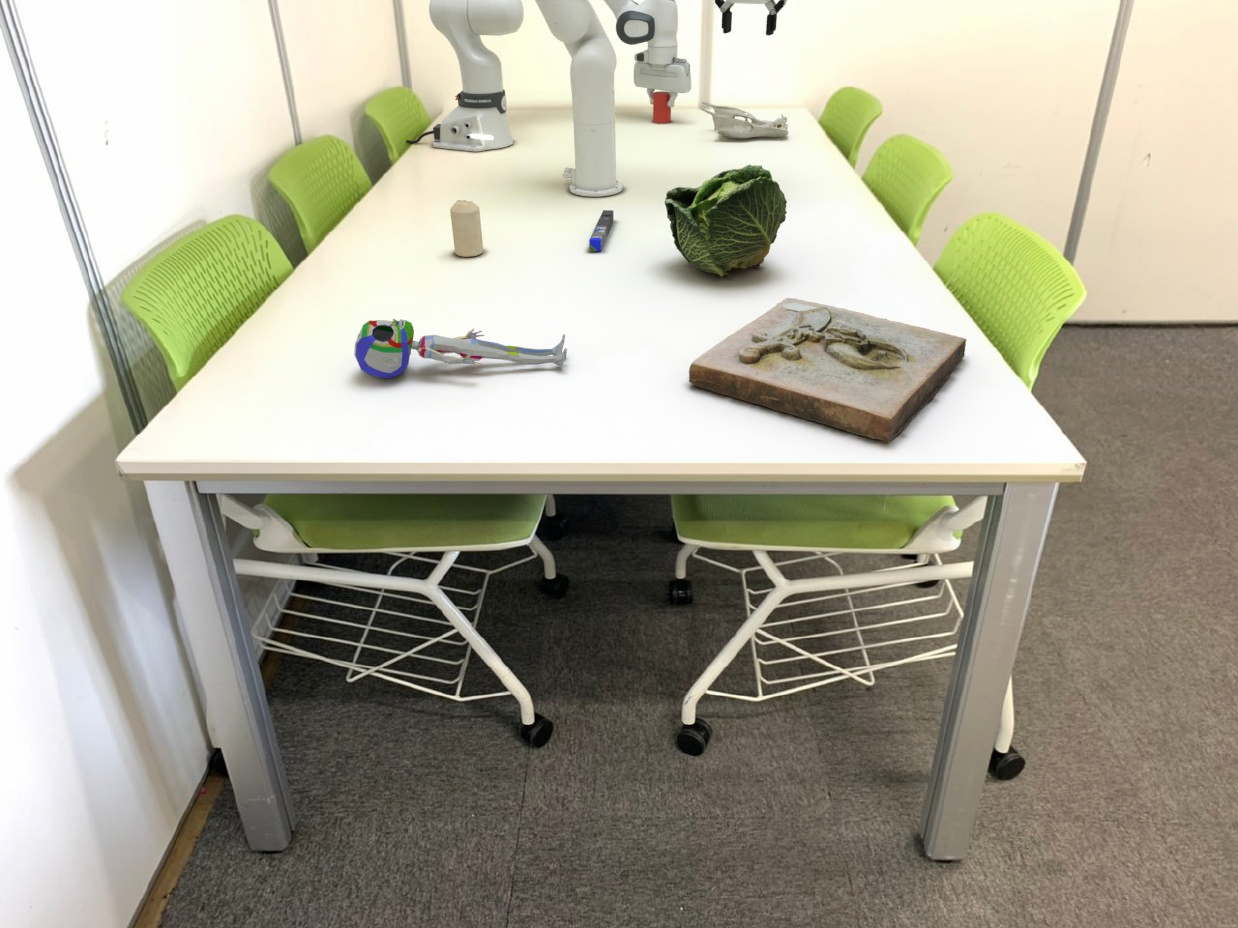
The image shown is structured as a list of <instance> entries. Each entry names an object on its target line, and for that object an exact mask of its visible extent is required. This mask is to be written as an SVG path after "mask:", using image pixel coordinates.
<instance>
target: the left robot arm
mask: <svg viewBox="0 0 1238 928" xmlns="http://www.w3.org/2000/svg"><path fill="white" fill-rule="evenodd" d="M603 1H604V2H605V4H606V5H607V7H608V8H609V9H610V10H611V12H612V13H613V15H614V17H615V20H616V23H615V32H616V35H617V37H618V39H619V40H620V41H621V42H622V43H624V44H625V45H626V44H627V45H629V46H636V45H639V44H642V43H647V49H644V50H643V51H639V52H637V53H634V57H633V59H634V61H635V63H634V66H633V84H634V85H635V87H636V88H643V89H646V93H647V96H648V97H649V104H650V105H652V106H653V93H654V92H656V90H657V91H666V92H670V95H671V98H670V100H669V101H667V107H671V109H672V108H674V107H675V101H676V99H677V98H678V94H688V93H690V91H691V90H692V75H691V74H692V73H691V64H690V63H689V61H687V59H686V58H679V57H678V46H679V45H678V40H677V34H678V30H679V11H678V4H677V2H676V0H643V1H642V2H640V3H639V2H636V1H634V0H603ZM523 5H524V4H523V3H522V0H429V5H428V15H429V18H430V19H429V20H430V21H431V23H432V25H433V27H434V28H435V29H436V30H437V31H438V32H440V34H442V35H443V36H444V37H445V38H446V40H447V41H448V42H449V44H450V45H451V47H452V49H453V51H454V53H455V55H456V58H457V61H458V65H459V72H460V78H461V85H462V90H461V91H460V92H458V93H457V94H456V95H455V96H454V97H455V99H454V100H455V101H457V106H456V107H455V108H454V109H453V110H452V111H451V112H450V113H449V114H448V115H446V117H445V118H444V119H442V121H441V123H437V124H435V126H433V127H432V130H430V131H426V132H424V133H421V134H420V135H419V136H418V138H417V139H415V140H410V139H406V140H405V143H406V144H418V143H419V142H420V141H421V140H422V139H423V138H424V137H426V136H428V135H429V136H430V135H433V139H434V140H433V141H432V147H433V148H436V149H437V148H438V149H446V150H455V151H465V152H474V153H475V152H476V153H478V152H483V151H489V150H497V149H502V148H507V147H509V146H511V145H513V144H514V139H513V137H512V135H511V130H510V125H509V122H508V117H507V106H508V105H507V97H506V90H505V89H504V79H503V68H502V61H501V59H500V57H499V55H497V54H496V53H495V52H493V51H492V50H491V49H488V48H487V47H486V45H485V44H484V43H483V41H482V39H481V36H495V37H496V36H497V37H498V36H499V37H501V36H505V35H509V34H515V33H517V32H518V31H520V29H521V27H522V24H523V22H524V17H525V9H524V6H523Z"/></svg>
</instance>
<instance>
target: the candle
mask: <svg viewBox="0 0 1238 928" xmlns="http://www.w3.org/2000/svg"><path fill="white" fill-rule="evenodd" d="M449 212H450V213H449V214H450V222H451V228H452V231H451V232H452V239H453V247H454V253H455V255H457V256H459V257H465V258H466V257H467V258H468V257H475V256H479V255H481V254H483V252H484V242H483V234H482V233H483V232H482V231H483V230H482V222H481V221H482V220H481V212H480V207H479V205H478V204H476V203H475V202H474V201H472V200H470V201H468V200H465V199H464V200H462V199H457V200H456V201H455V202H454V203H453V205H452V206H451V207H450V209H449Z"/></svg>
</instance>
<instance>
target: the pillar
mask: <svg viewBox="0 0 1238 928" xmlns="http://www.w3.org/2000/svg"><path fill="white" fill-rule="evenodd" d="M614 216H615V215H614V210H613V209H612V210H611V209H602V212H601V214H600V216H599V219H598V221H597V222H596V225H595V227H594V229H593V231H592V234H591V236H590V237H589V241H588V243H589V244H588V245H589V246H588V247H589V248H588V250H589V252H601V251H602V249H603V247H604V245H605V242H606V239H607V237H608V235H609V232H610V231H611V228H612V226H613V223H614Z"/></svg>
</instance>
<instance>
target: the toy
mask: <svg viewBox="0 0 1238 928" xmlns="http://www.w3.org/2000/svg"><path fill="white" fill-rule="evenodd" d="M474 331H475V328H472V329H471V330H469V331H468V332H467V333H466V334H465V335H463V336H458V337H449V336H448V337H447V336H442V335H439V334H428V335H423V336H421V338H420V339H419V341H417V340H414V336H415V329H414V326H413V324H412V322H410V321H408V320H407V319H399V320H397V319H395V318H392V320H387V319H379V320H368V321H367V322H365V323H364V324H362V326H361V329H360V331H359V333H358V334H357V338H356V340H355V342H354V354H353V355H354V357H355V359H356V362H357V364H358V366H359V369H360V370H361V372H364V373H366V374H367V375H370V376H373V377H377V378H382V379H383V378H384V379H392V378H394V377H396V376H398V375H400V374H401V375H402V374H403V372H404V371H405V370H406V368H407V367H408V366H409V364H410V357H411V355H412V350H415V351H417V353H418V356H419V357H421V358H422V359H430V360H434V361H438V362H442V363H444V364H449V365H458V364H459V365H461V364H465V365H471V366H477V367H479V368H480V367H481V366H482V365H483V363H482V362H478V361H480V360H482V359H487V360H488V359H489V360H503V361H509V362H514V363H517V364H520V365H528V366H529V365H542V364H550V363H553V364H555V365H557V366H559V367H562V366H563V364H564V362H565V361H566V360H567V357H568V355H567V353H568V348H566V347H565V348H564V345H565V340H566V334H565V333H563V334H562V338H561V340H560V341H559V343H558V344H556V345H555V346H554V347H552V348H533V347H532V348H531V347H523V346H518V345H517V346H516V345H504V344H501V343H498V342H494V341H488V340H482V339H478V338H479V337H480V338H481V337H485V334H480V333H482V332H483V331H482V330H479V331H476V332H474ZM563 349H564V350H563ZM453 353H455V354H457V355H459V357H458V356H455V355H448V354H453ZM445 354H447V355H445Z"/></svg>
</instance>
